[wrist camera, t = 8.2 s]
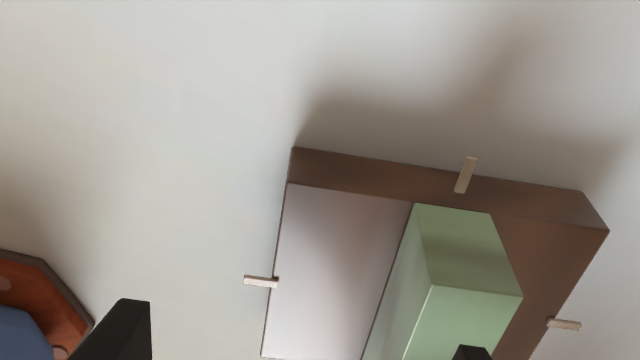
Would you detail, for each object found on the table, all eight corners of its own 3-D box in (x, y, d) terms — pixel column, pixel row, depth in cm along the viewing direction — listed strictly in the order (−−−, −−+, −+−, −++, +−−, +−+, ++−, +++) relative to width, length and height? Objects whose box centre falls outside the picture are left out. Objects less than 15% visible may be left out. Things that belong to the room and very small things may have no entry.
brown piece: (635, 151, 19) (675, 191, 17) (501, 373, 27) (516, 420, 25) (269, 91, 18) (259, 125, 16) (241, 339, 26) (232, 384, 24)
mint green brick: (414, 201, 17) (433, 289, 14) (490, 213, 18) (527, 303, 14) (357, 371, 23) (360, 465, 19) (415, 379, 23) (429, 473, 20)
